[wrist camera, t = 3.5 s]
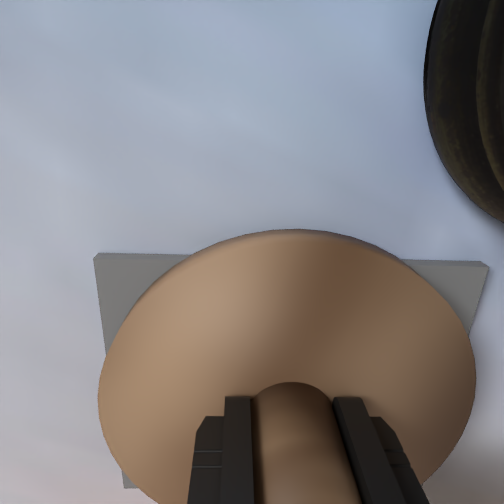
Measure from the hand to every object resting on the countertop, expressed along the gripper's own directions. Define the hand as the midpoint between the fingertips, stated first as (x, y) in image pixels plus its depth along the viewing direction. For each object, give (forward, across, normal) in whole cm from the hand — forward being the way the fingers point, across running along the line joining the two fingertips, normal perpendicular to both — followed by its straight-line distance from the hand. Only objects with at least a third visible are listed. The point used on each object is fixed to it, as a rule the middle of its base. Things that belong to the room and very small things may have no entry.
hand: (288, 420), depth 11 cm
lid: (+1, 0, 0) cm, 1 cm away
